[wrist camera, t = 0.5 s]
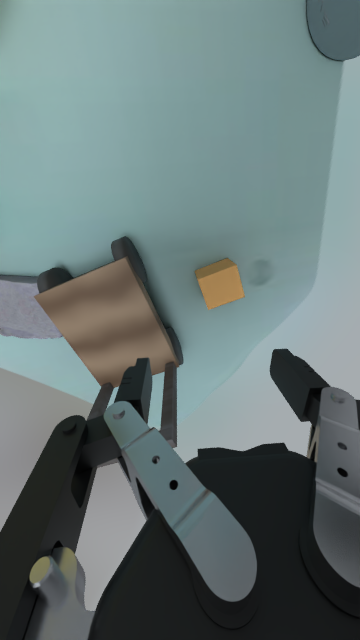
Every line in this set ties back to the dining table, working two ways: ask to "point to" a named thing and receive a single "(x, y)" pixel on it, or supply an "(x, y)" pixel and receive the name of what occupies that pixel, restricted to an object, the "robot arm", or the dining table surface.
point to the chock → (220, 283)
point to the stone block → (23, 310)
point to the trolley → (114, 327)
